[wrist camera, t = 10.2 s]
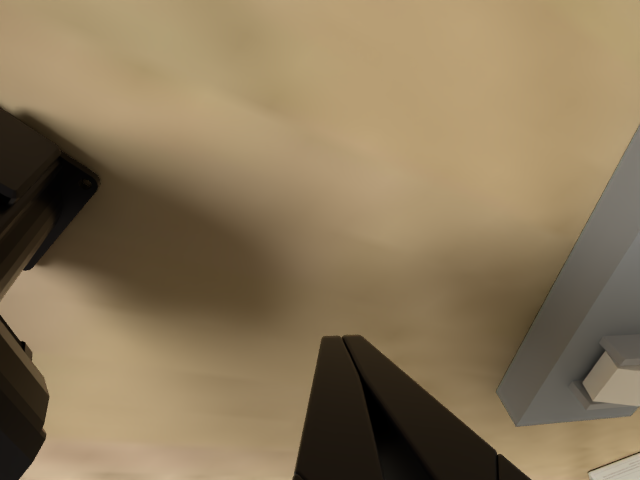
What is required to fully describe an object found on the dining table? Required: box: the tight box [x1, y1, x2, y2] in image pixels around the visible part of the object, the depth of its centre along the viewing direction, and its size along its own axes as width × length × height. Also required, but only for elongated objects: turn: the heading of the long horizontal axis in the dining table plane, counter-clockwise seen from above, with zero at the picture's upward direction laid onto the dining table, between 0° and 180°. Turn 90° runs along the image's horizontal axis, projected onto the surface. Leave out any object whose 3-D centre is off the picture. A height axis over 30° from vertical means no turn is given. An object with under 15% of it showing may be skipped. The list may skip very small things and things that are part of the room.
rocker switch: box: [583, 351, 640, 406], centre depth 26 cm, size 5×3×1 cm, turn 84°
